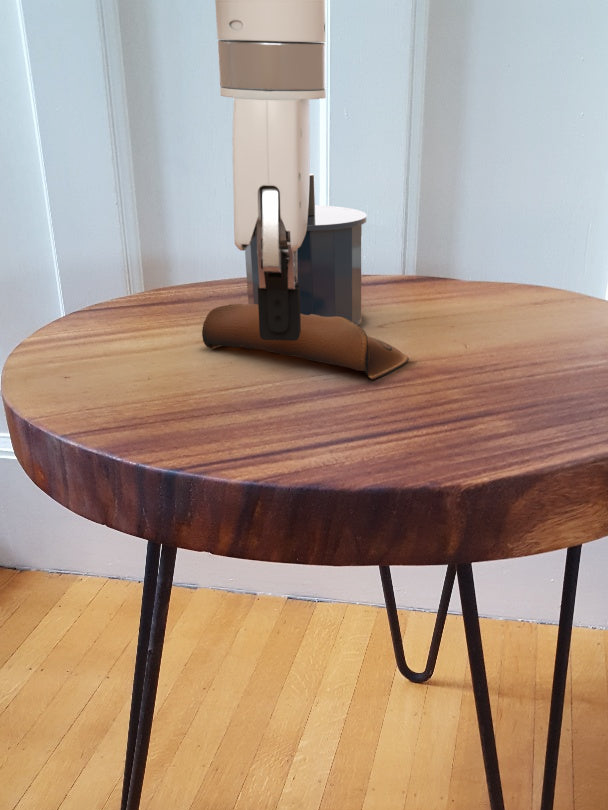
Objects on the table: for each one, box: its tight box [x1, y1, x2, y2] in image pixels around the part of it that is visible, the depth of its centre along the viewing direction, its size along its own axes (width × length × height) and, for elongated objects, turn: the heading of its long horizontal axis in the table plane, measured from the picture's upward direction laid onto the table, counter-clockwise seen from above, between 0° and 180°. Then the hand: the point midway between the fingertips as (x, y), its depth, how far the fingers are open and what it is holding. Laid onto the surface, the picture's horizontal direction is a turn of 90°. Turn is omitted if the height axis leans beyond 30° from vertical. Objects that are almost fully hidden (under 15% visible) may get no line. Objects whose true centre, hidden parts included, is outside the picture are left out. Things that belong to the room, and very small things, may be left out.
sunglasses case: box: [201, 303, 409, 381], centre depth 86 cm, size 18×7×7 cm, turn 59°
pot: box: [244, 224, 363, 326], centre depth 95 cm, size 11×11×10 cm
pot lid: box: [307, 172, 368, 231], centre depth 92 cm, size 12×12×5 cm
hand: (280, 337), depth 78 cm, fingers closed
